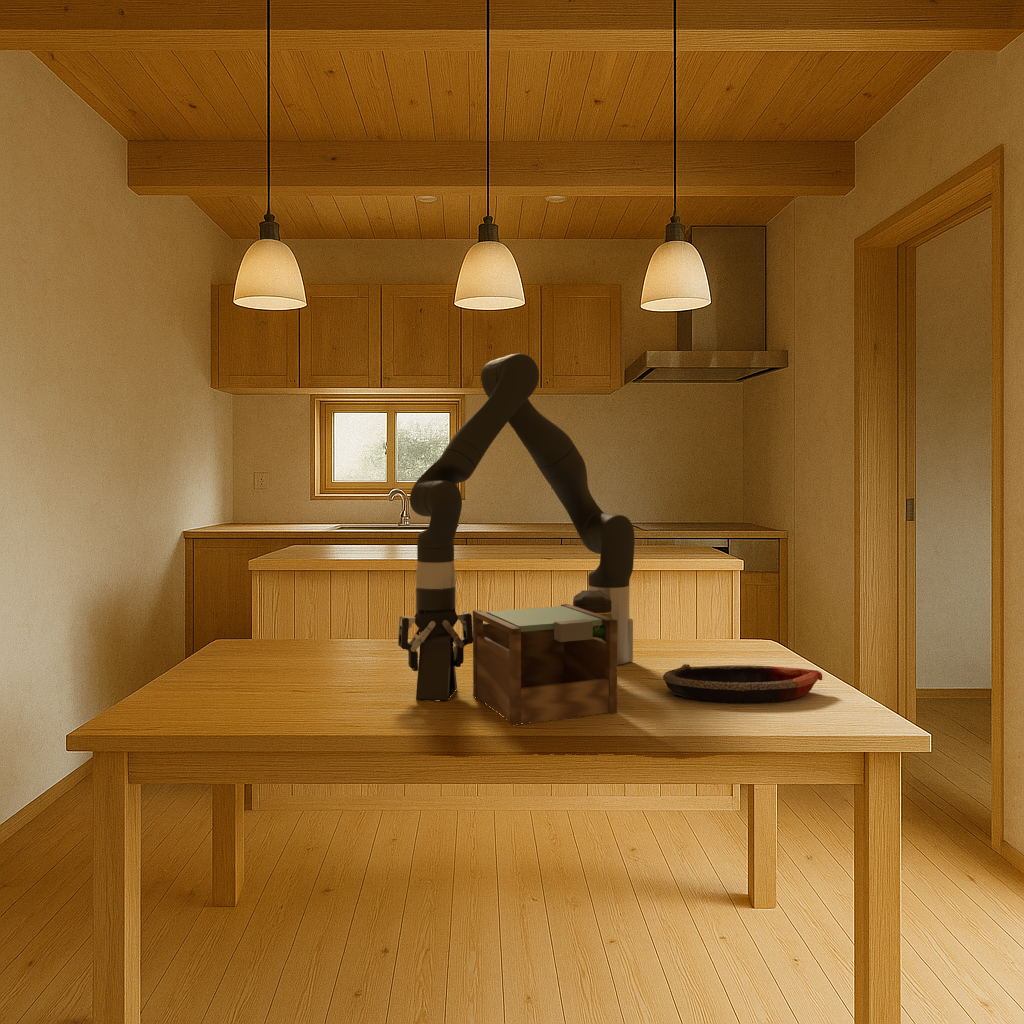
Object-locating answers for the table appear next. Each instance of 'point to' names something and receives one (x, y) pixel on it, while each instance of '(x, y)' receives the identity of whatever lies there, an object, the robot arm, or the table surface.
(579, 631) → the trapdoor
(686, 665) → the dish
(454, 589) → the robot arm
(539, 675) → the wooden crate
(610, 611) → the coffee jar
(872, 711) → the table surface
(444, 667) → the phone stand
